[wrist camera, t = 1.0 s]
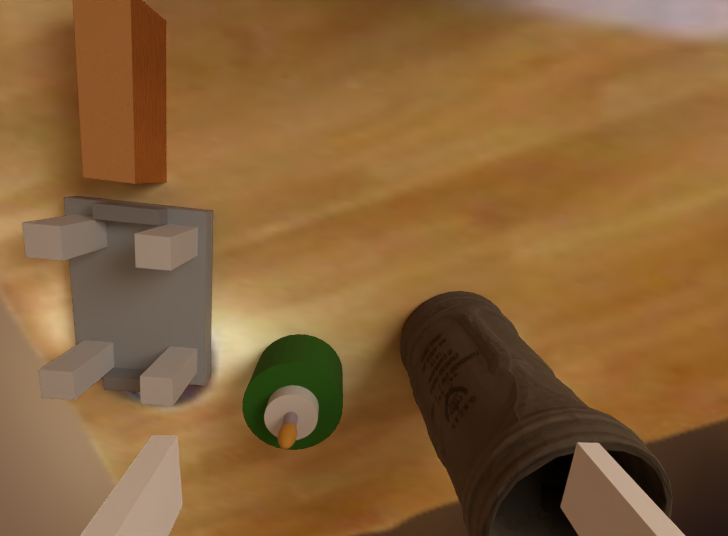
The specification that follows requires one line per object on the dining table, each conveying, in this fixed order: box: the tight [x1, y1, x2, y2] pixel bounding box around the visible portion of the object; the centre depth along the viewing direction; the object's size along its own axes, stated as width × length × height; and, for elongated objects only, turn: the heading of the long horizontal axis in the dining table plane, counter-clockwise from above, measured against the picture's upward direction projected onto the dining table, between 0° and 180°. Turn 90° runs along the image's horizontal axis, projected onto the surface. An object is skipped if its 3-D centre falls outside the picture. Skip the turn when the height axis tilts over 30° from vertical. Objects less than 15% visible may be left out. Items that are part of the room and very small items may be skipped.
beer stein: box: [401, 291, 672, 536], centre depth 27 cm, size 15×11×20 cm
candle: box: [243, 334, 343, 450], centre depth 31 cm, size 8×8×10 cm
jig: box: [22, 196, 213, 406], centre depth 30 cm, size 16×11×6 cm
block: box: [73, 0, 167, 184], centre depth 27 cm, size 12×4×5 cm, turn 173°
